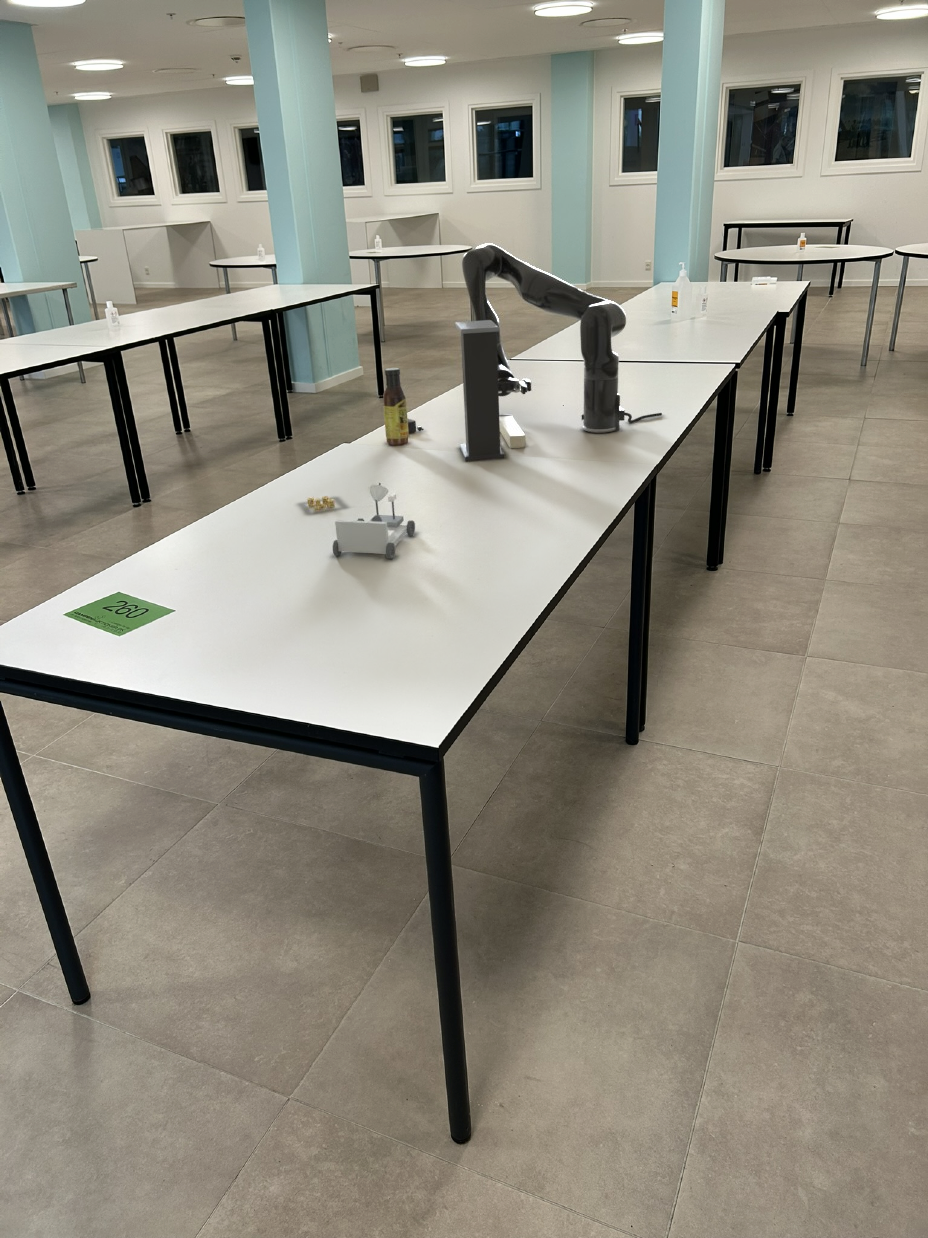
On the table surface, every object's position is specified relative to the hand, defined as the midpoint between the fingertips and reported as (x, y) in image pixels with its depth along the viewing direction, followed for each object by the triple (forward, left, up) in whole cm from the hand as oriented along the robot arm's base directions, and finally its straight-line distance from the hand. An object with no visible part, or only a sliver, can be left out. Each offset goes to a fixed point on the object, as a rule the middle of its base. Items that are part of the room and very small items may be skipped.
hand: (508, 391), depth 243 cm
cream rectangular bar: (0, +2, -12) cm, 12 cm away
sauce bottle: (+31, 0, -12) cm, 33 cm away
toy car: (+38, +76, -12) cm, 86 cm away
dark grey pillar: (+10, +17, -12) cm, 23 cm away
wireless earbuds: (+27, -12, -12) cm, 32 cm away
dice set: (+50, +50, -12) cm, 72 cm away
